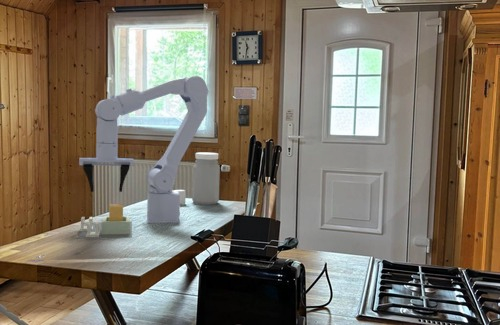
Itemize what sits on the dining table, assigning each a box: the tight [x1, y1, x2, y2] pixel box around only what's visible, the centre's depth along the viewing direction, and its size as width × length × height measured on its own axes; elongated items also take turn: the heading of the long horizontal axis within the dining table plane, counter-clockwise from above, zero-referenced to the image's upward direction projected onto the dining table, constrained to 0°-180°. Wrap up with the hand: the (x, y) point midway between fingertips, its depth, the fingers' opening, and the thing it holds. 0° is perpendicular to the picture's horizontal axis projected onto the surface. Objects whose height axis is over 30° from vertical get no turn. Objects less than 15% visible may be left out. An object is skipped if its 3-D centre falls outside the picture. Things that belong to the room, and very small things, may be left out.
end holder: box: [101, 215, 131, 235], centre depth 132 cm, size 7×7×3 cm
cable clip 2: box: [86, 221, 100, 237], centre depth 126 cm, size 3×3×3 cm
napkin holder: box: [173, 189, 186, 206], centre depth 175 cm, size 15×11×6 cm
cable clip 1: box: [79, 216, 94, 232], centre depth 132 cm, size 3×3×3 cm
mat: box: [76, 221, 133, 240], centre depth 133 cm, size 13×18×1 cm
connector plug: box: [108, 203, 124, 221], centre depth 132 cm, size 3×3×6 cm
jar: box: [191, 151, 221, 206], centre depth 181 cm, size 10×10×18 cm
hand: (106, 191), depth 141 cm, fingers open, 7 cm apart
